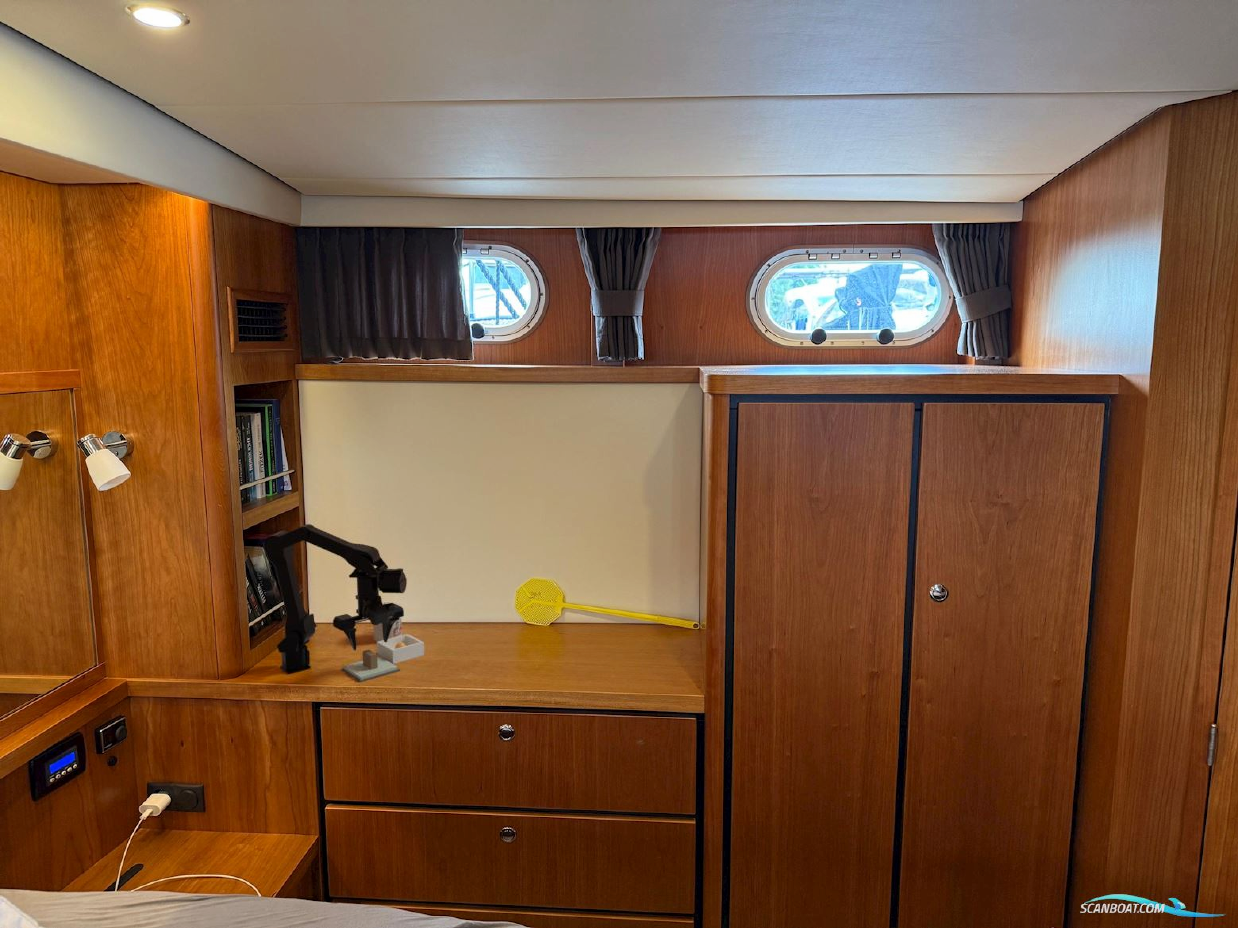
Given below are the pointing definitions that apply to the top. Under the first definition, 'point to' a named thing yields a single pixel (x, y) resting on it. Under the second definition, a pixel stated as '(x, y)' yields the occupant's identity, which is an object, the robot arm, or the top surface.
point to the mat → (369, 677)
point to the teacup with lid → (394, 632)
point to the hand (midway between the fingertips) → (370, 645)
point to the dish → (400, 648)
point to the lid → (370, 666)
